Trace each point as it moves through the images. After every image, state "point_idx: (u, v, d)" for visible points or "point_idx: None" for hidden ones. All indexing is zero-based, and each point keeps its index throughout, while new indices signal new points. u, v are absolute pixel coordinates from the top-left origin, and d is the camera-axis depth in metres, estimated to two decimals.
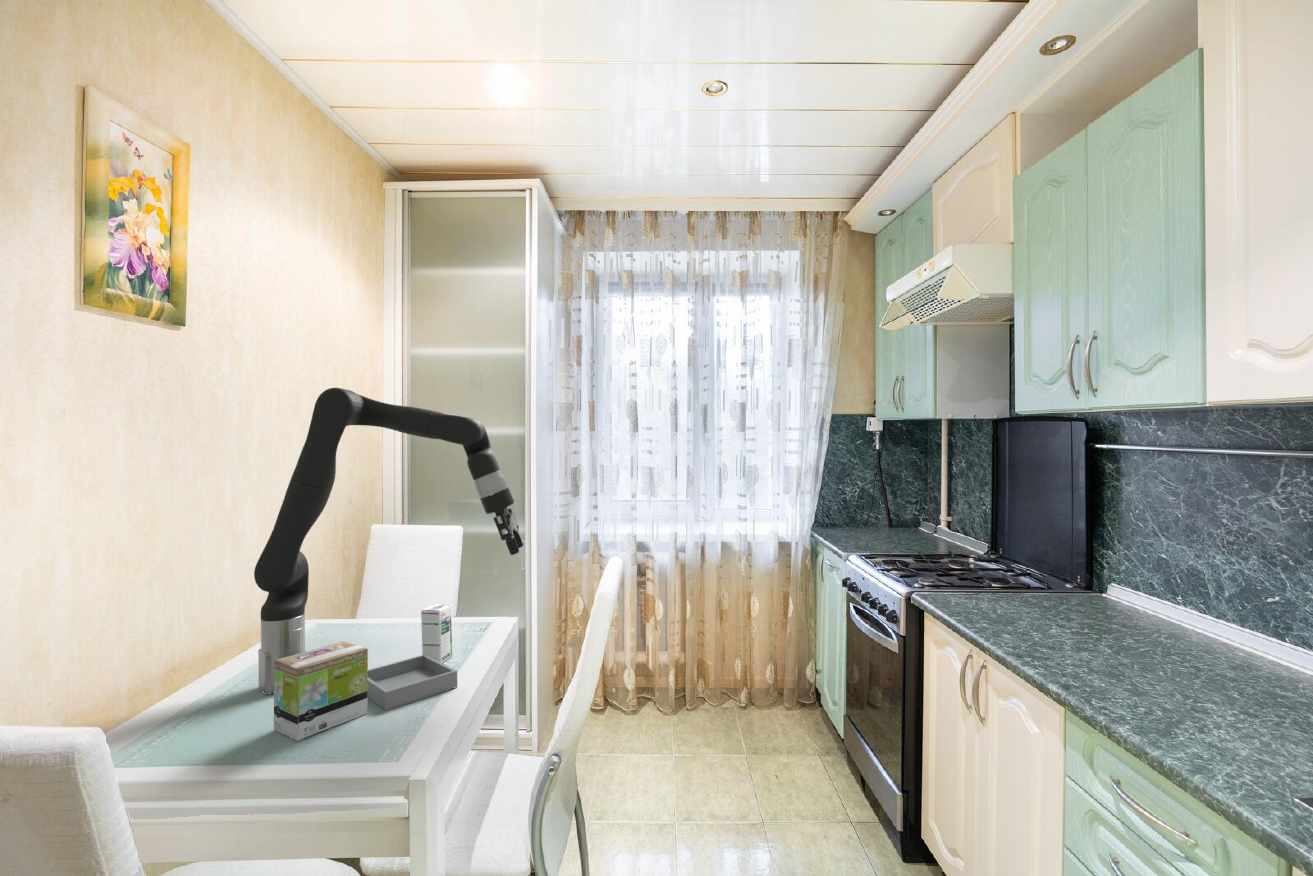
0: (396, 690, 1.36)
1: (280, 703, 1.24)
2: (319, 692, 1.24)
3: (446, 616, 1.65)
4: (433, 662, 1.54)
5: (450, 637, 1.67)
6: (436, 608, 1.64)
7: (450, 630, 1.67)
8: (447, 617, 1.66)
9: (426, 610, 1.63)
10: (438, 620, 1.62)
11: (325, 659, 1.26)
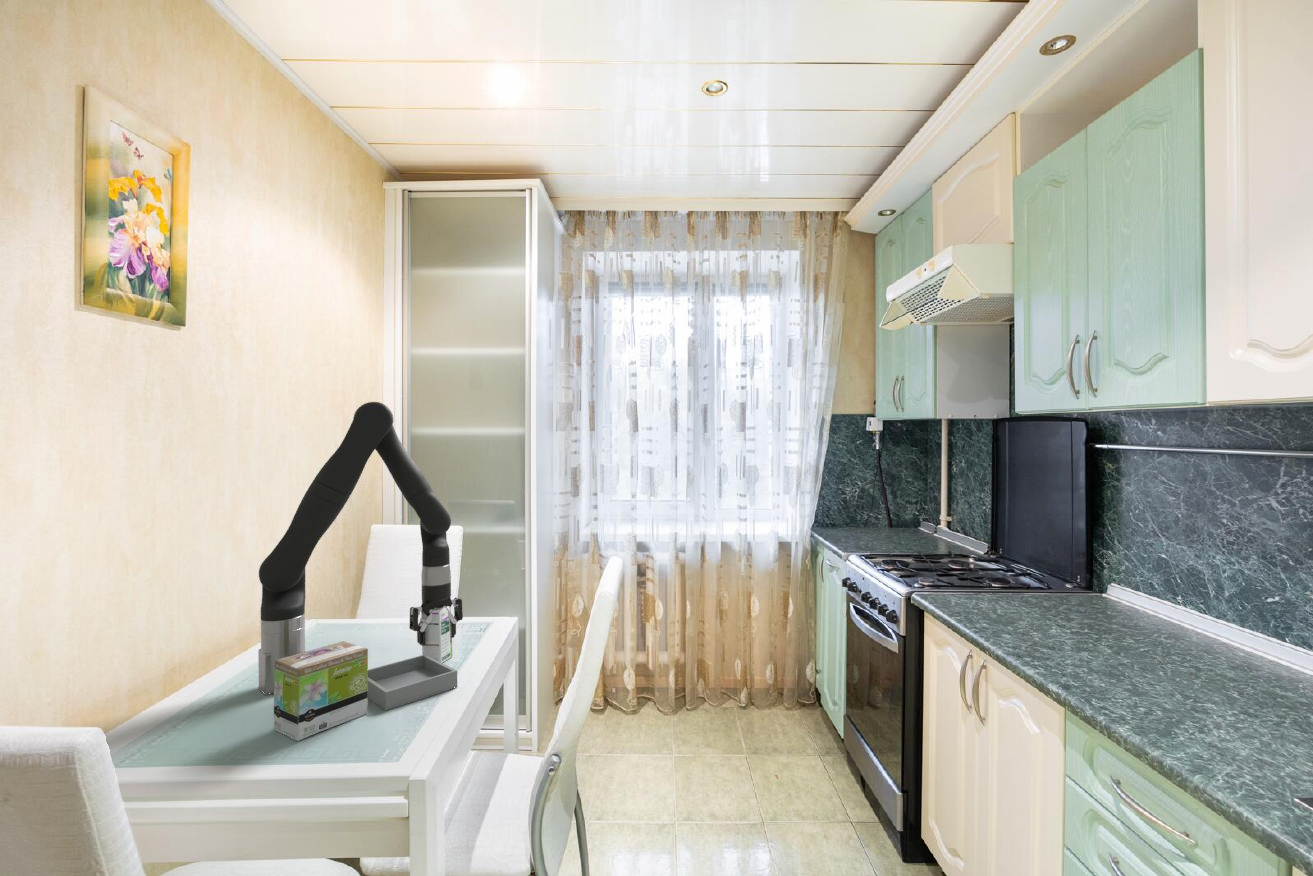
0: (396, 690, 1.36)
1: (280, 704, 1.24)
2: (319, 692, 1.24)
3: (446, 616, 1.65)
4: (433, 662, 1.54)
5: (450, 637, 1.67)
6: None
7: (450, 630, 1.67)
8: (447, 617, 1.66)
9: None
10: (438, 620, 1.62)
11: (325, 659, 1.26)
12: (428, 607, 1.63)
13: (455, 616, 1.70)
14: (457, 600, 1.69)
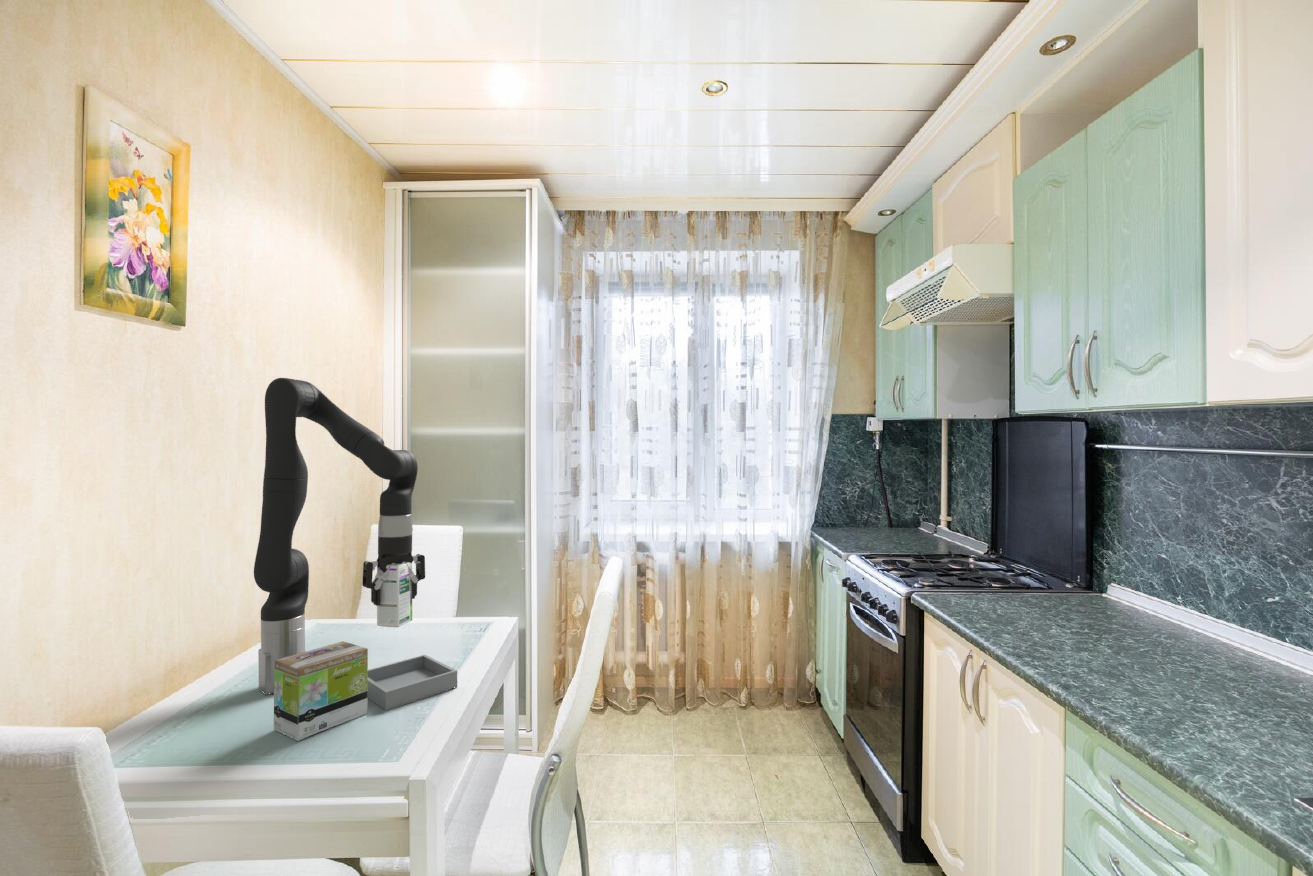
0: (396, 690, 1.36)
1: (280, 704, 1.24)
2: (319, 692, 1.24)
3: (406, 573, 1.45)
4: (433, 662, 1.54)
5: (410, 598, 1.46)
6: None
7: (410, 590, 1.47)
8: (408, 575, 1.46)
9: None
10: (396, 577, 1.42)
11: (325, 659, 1.26)
12: (385, 562, 1.42)
13: (416, 575, 1.49)
14: (419, 556, 1.49)
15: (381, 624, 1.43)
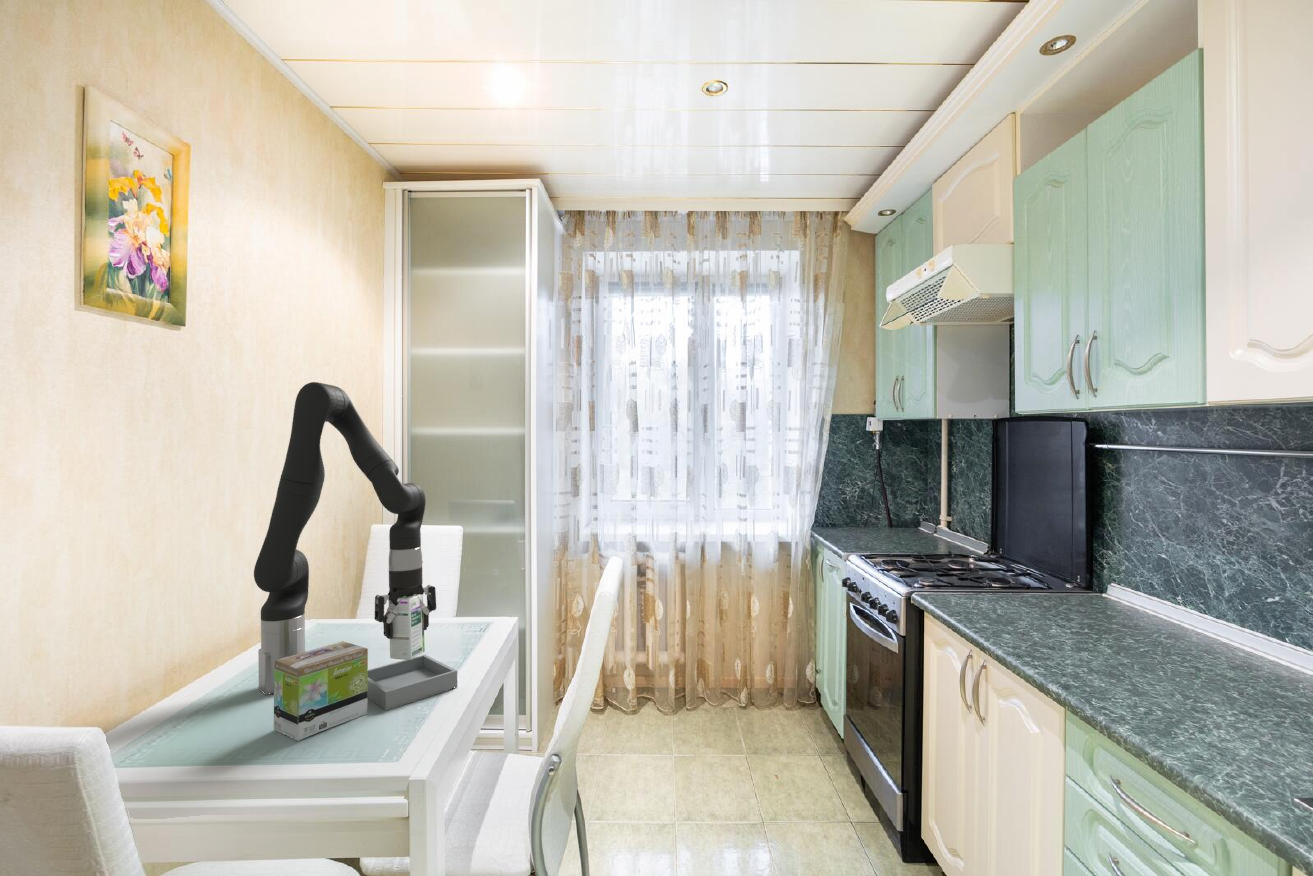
0: (396, 690, 1.36)
1: (280, 704, 1.24)
2: (319, 692, 1.24)
3: (417, 605, 1.46)
4: (433, 662, 1.54)
5: (422, 629, 1.48)
6: None
7: (422, 621, 1.48)
8: (419, 607, 1.47)
9: None
10: (408, 610, 1.43)
11: (325, 659, 1.26)
12: (396, 595, 1.44)
13: (427, 606, 1.51)
14: (430, 588, 1.50)
15: (394, 657, 1.44)
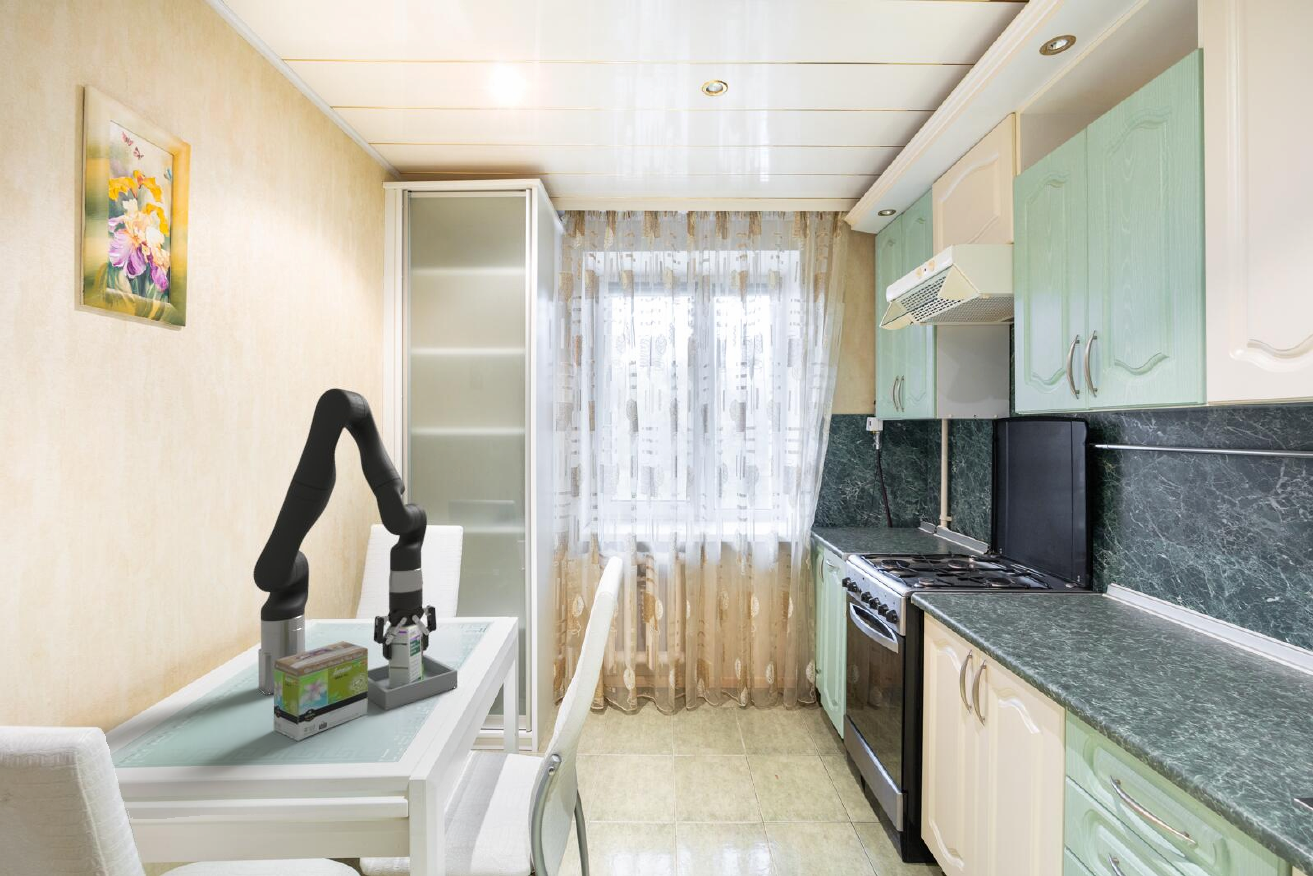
0: (396, 690, 1.36)
1: (280, 704, 1.24)
2: (319, 692, 1.24)
3: (416, 634, 1.46)
4: (433, 662, 1.54)
5: (421, 658, 1.48)
6: (405, 626, 1.45)
7: (421, 650, 1.48)
8: (418, 636, 1.47)
9: (393, 628, 1.44)
10: (407, 640, 1.43)
11: (325, 659, 1.26)
12: (396, 617, 1.44)
13: (428, 626, 1.51)
14: (430, 608, 1.50)
15: (393, 686, 1.44)
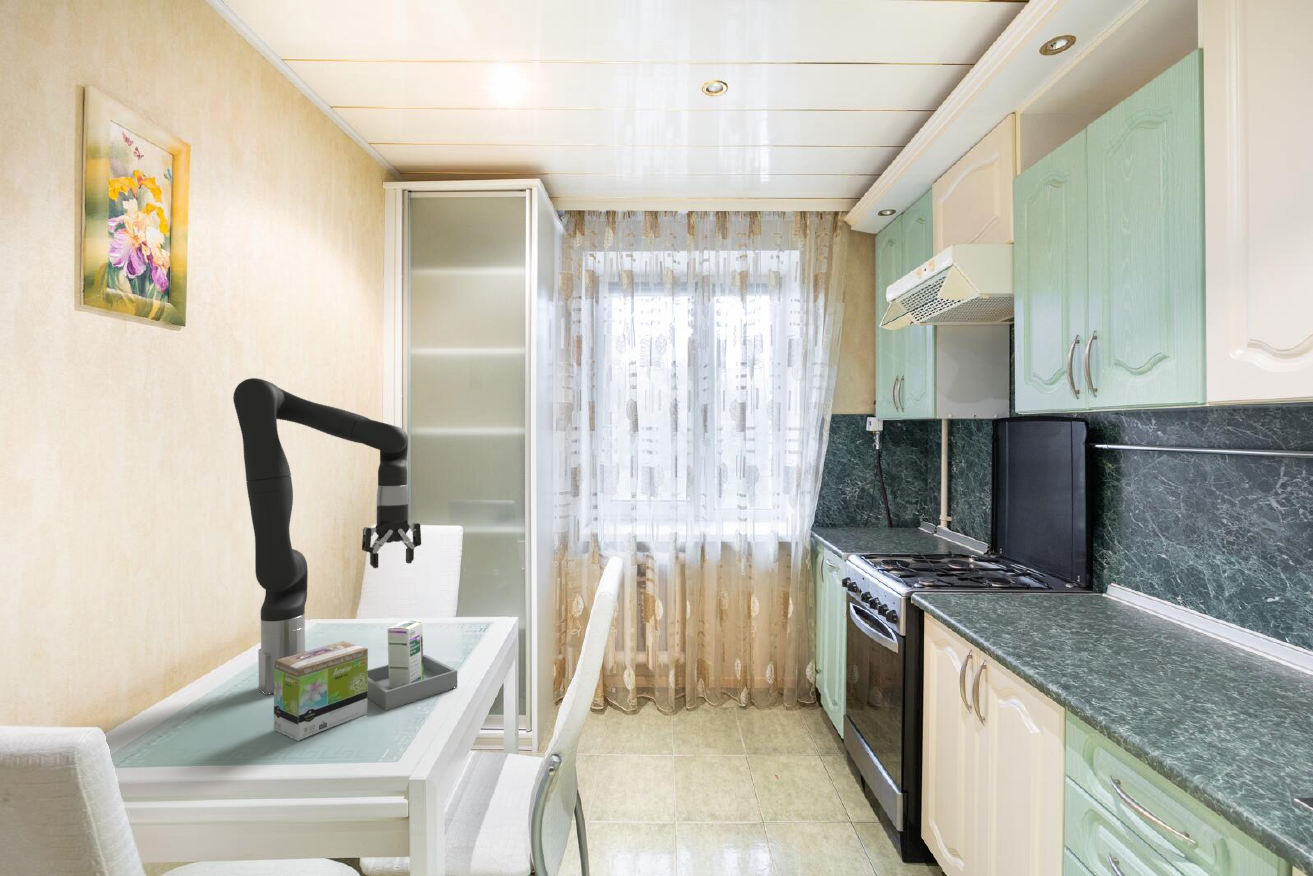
0: (396, 690, 1.36)
1: (280, 704, 1.24)
2: (319, 692, 1.24)
3: (416, 634, 1.46)
4: (433, 662, 1.54)
5: (421, 658, 1.48)
6: (405, 626, 1.45)
7: (421, 650, 1.48)
8: (418, 636, 1.47)
9: (393, 628, 1.44)
10: (406, 640, 1.43)
11: (325, 659, 1.26)
12: (383, 528, 1.55)
13: (413, 541, 1.62)
14: (415, 524, 1.61)
15: (393, 686, 1.44)
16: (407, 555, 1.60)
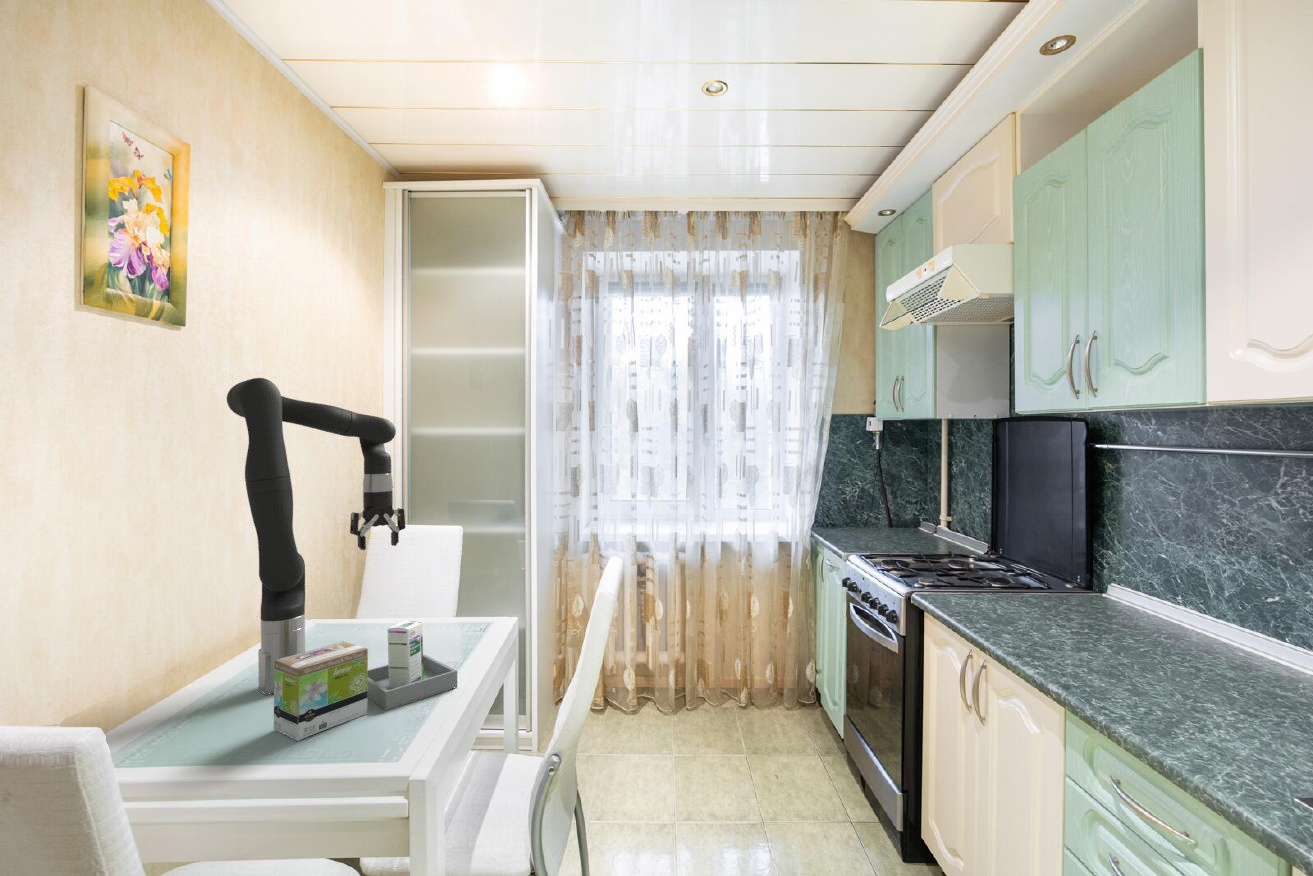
0: (396, 690, 1.36)
1: (280, 704, 1.24)
2: (319, 692, 1.24)
3: (416, 634, 1.46)
4: (433, 662, 1.54)
5: (421, 658, 1.48)
6: (405, 626, 1.45)
7: (421, 650, 1.48)
8: (418, 636, 1.47)
9: (393, 628, 1.44)
10: (406, 640, 1.43)
11: (325, 659, 1.26)
12: (369, 513, 1.68)
13: (398, 525, 1.75)
14: (399, 510, 1.74)
15: (393, 686, 1.44)
16: (392, 538, 1.73)
